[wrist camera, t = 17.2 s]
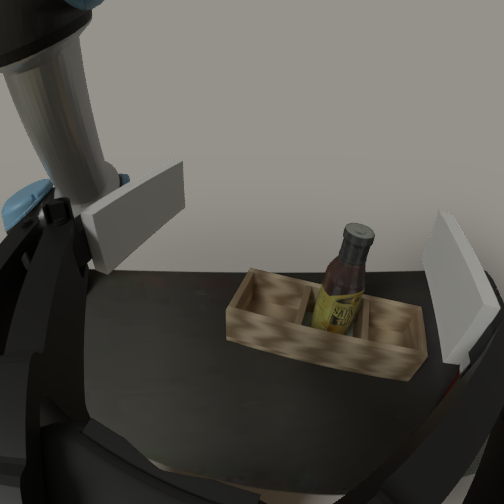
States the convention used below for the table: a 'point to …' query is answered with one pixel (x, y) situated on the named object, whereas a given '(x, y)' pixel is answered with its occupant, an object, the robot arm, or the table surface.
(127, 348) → the table surface
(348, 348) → the wooden compartment box
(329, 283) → the sauce bottle
